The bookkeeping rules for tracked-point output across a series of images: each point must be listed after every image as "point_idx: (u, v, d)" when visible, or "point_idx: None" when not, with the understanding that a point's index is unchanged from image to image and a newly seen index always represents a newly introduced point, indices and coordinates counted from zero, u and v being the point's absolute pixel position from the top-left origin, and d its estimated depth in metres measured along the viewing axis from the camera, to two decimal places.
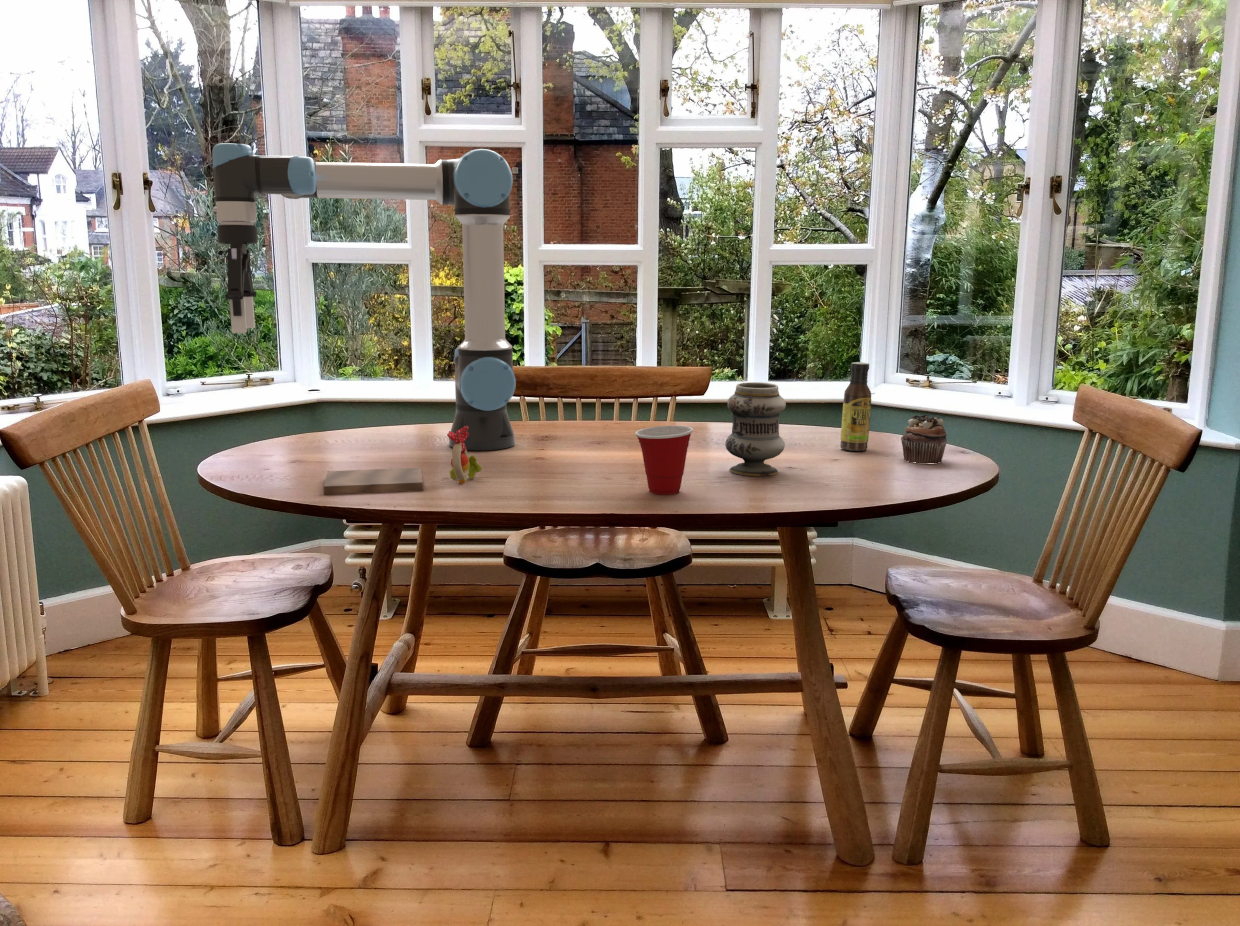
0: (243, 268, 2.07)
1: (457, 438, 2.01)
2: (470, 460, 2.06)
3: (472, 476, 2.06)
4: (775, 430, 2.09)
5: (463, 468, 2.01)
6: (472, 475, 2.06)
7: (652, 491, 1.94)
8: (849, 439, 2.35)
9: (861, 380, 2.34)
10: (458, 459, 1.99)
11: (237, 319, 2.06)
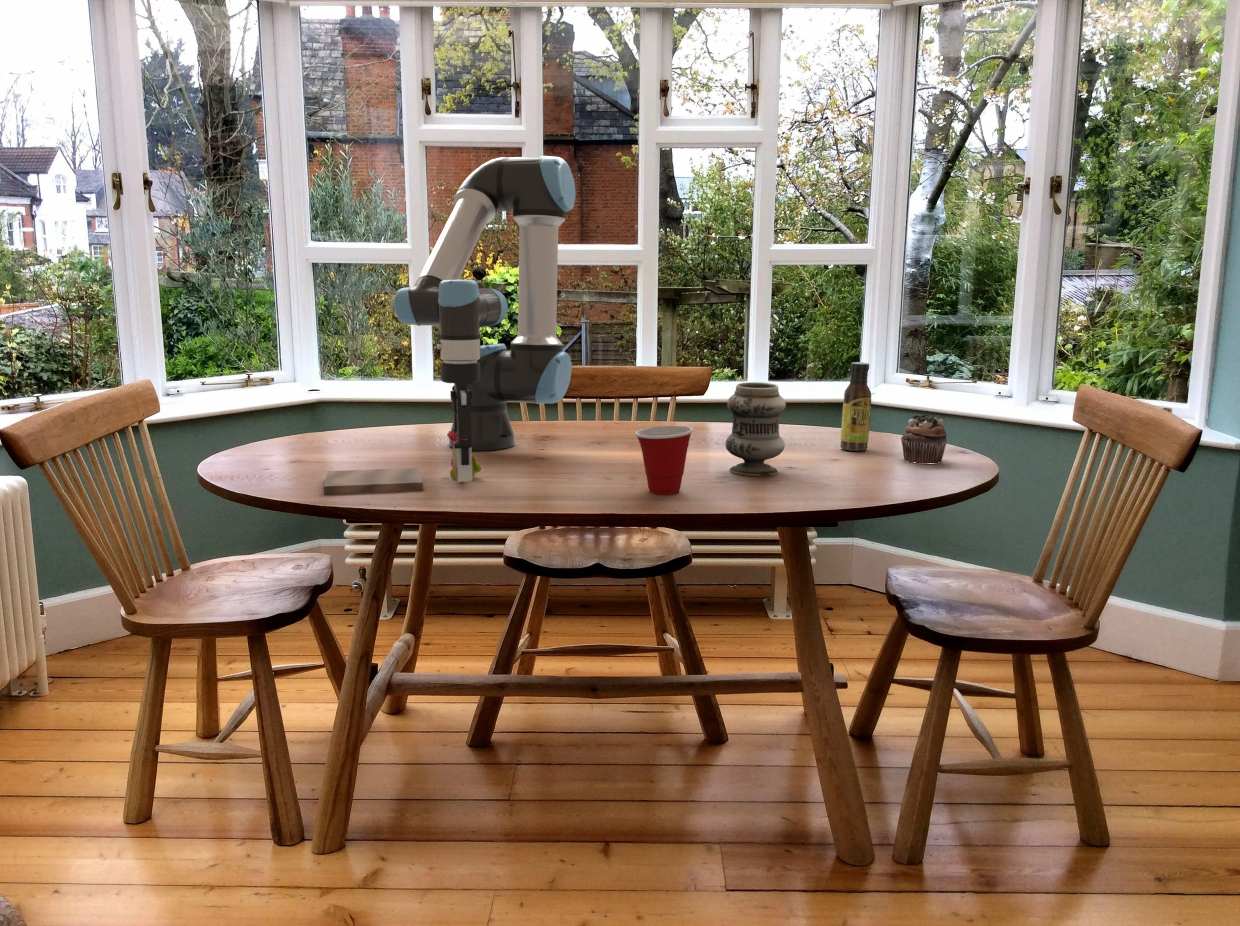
0: None
1: (457, 438, 2.01)
2: None
3: (472, 476, 2.06)
4: (775, 430, 2.09)
5: None
6: (472, 475, 2.06)
7: (652, 491, 1.94)
8: (849, 439, 2.35)
9: (861, 380, 2.34)
10: None
11: (464, 467, 1.98)
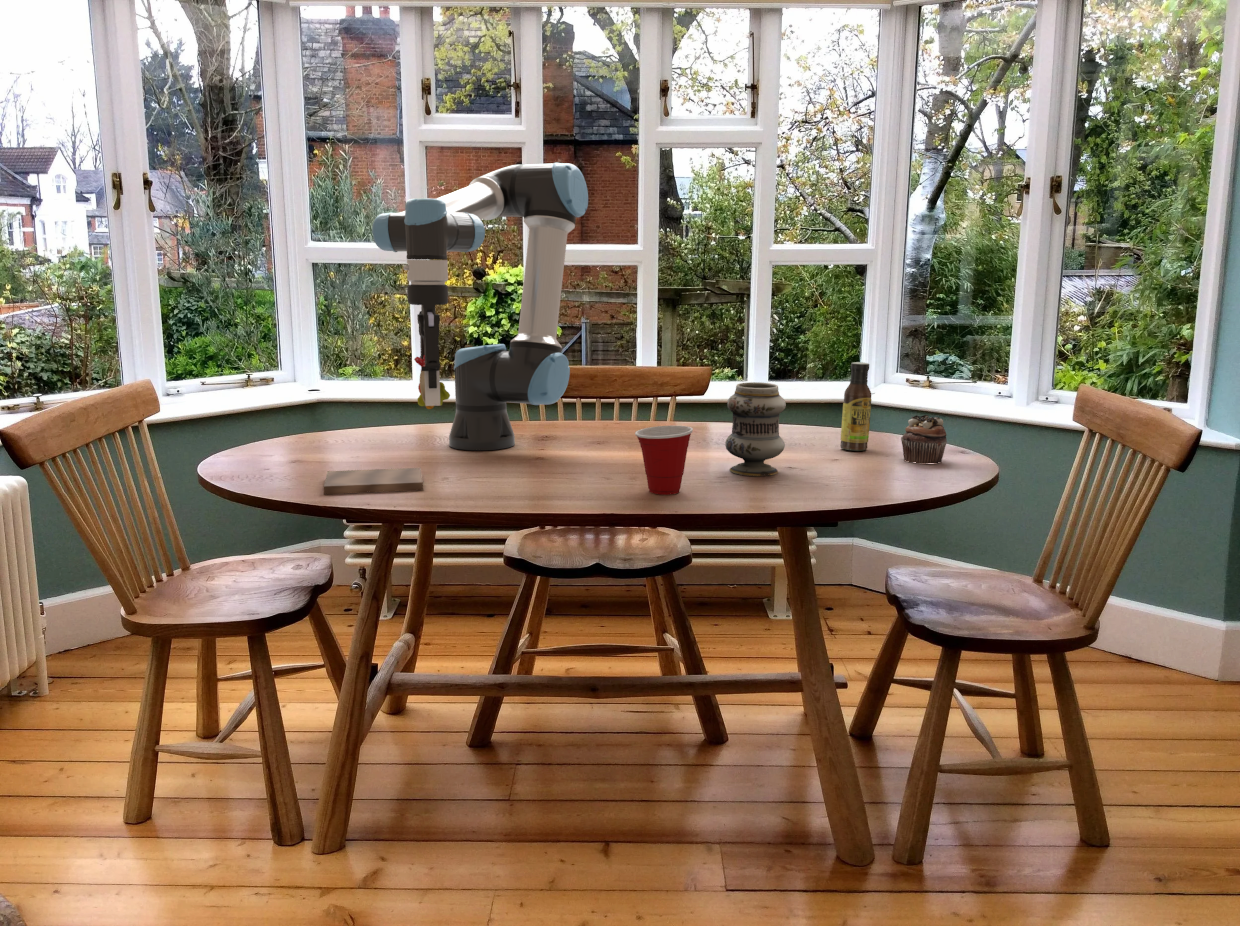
0: None
1: None
2: None
3: (440, 403, 2.02)
4: (775, 430, 2.09)
5: None
6: (441, 402, 2.02)
7: (652, 491, 1.94)
8: (849, 439, 2.35)
9: (861, 380, 2.34)
10: None
11: (431, 391, 1.94)
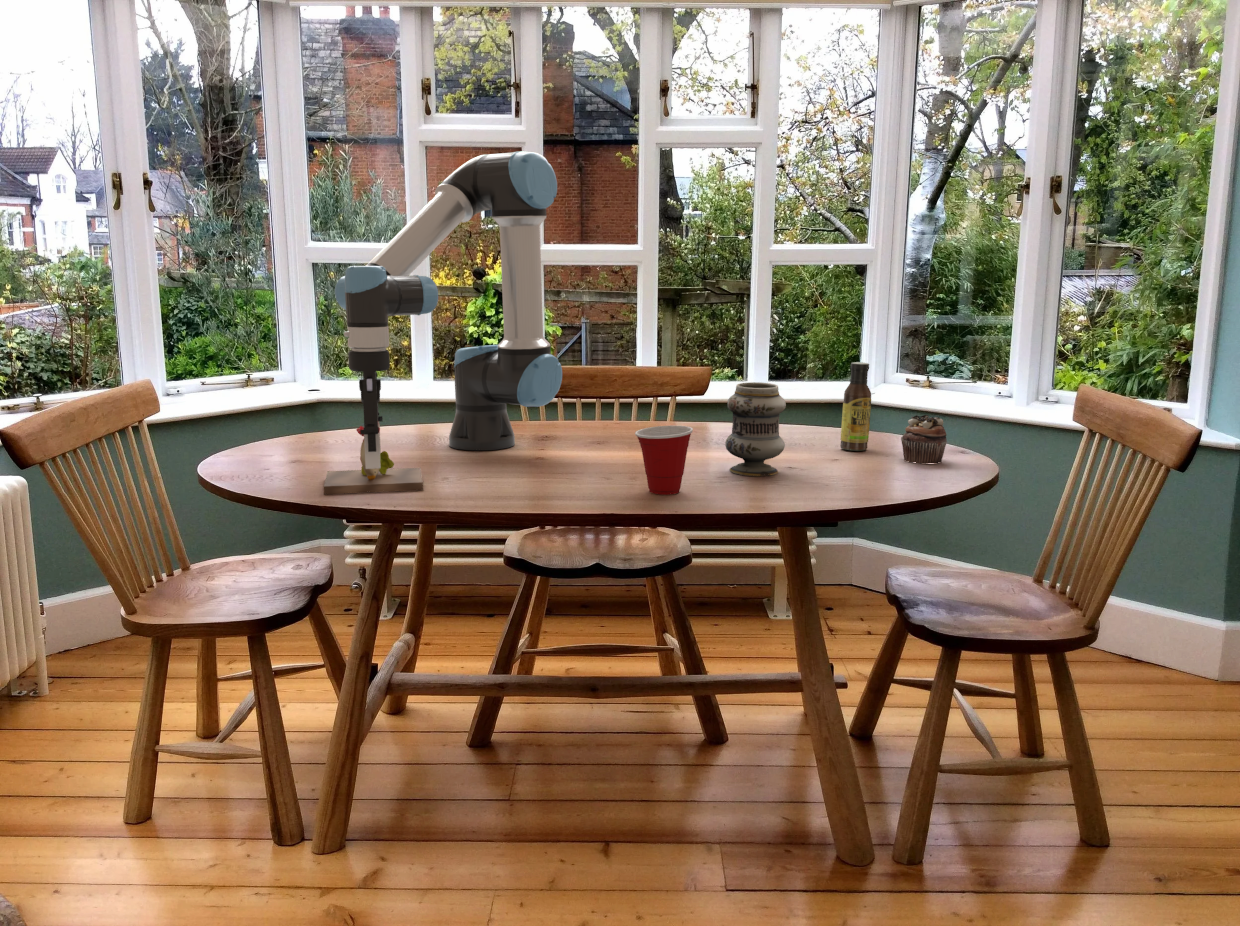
0: (377, 398, 1.94)
1: None
2: (382, 456, 2.02)
3: (384, 472, 2.02)
4: (775, 430, 2.09)
5: None
6: (384, 471, 2.02)
7: (652, 491, 1.94)
8: (849, 439, 2.35)
9: (861, 380, 2.34)
10: None
11: (371, 454, 1.92)
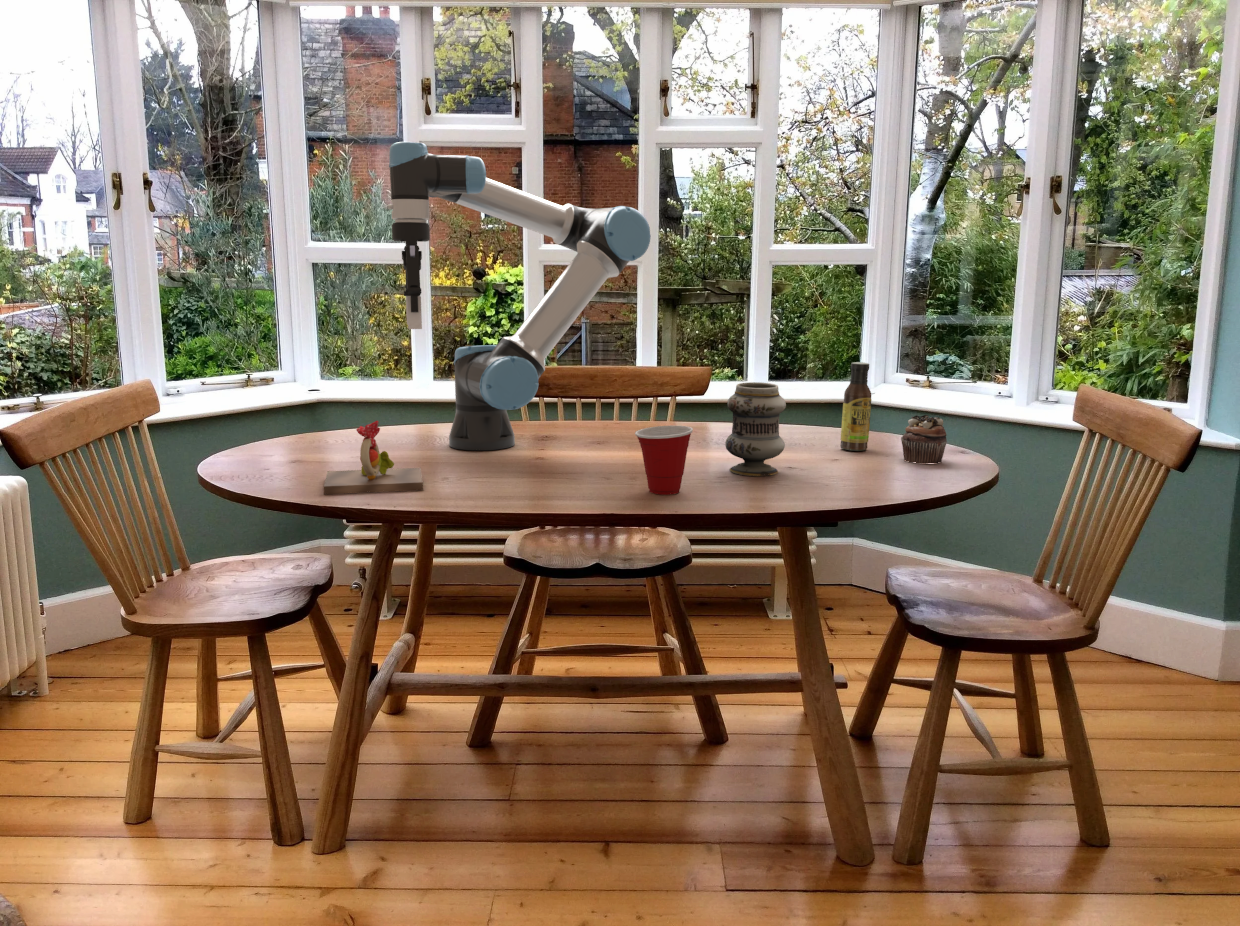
0: (418, 265, 2.10)
1: (366, 433, 1.97)
2: (382, 456, 2.02)
3: (384, 472, 2.02)
4: (775, 430, 2.09)
5: (372, 464, 1.97)
6: (384, 471, 2.02)
7: (652, 491, 1.94)
8: (849, 439, 2.35)
9: (861, 380, 2.34)
10: (366, 455, 1.95)
11: (414, 315, 2.08)
